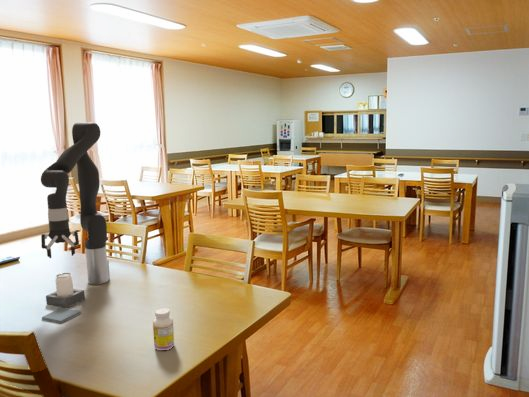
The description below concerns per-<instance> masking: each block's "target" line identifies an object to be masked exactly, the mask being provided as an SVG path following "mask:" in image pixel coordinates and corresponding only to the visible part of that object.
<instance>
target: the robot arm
mask: <svg viewBox="0 0 529 397" xmlns="http://www.w3.org/2000/svg"><path fill="white" fill-rule="evenodd" d="M71 134H72V135H71V136H72V141H73V142H72V143H73V144H72V145H71V146H69V147H68V148H66V149H65V150H64V151H63V152H62V153H61V154H60V156H59V157H58V158H57V160H56V161H55V162H54V163H52V164H51V165H50V166H48V167H47V168H45V170H44V171H43V172H42V173H41V176H40V183H41V185H42V186H44V187H45V188H48V189H49V188H53V189H54V188H55V189H56V190H55V192H52V193H50V194H47V198H46V200H47V218H48V219H47V220H48V229H49V230H48V231H49V232H48V233H44V232H43V233H41V238H40V239H41V248H42V249H45V250H46V255H47V257H48V258H49V259H52V251H51V250H52V249H51V247H52V246H53V245H54V243H56V244H60V243H67V244H69V245H70V249H71V256H74V255H75V254H76V248H75V247H76V246H79V245H80V238H79V235H78V234H79V232H78V230H76V229H75V230H72V231H71V230H70V225H69V224H70V223H69V222H70V221H69V213H68V212H69V211H68V207H67V193H68V188H69V183H70V177H69V175H68V174H69V173H71V172H72V171H73V169H74V168H75V166H76V168H77V182H78V189H79V190H78V191H79V199H80V200H79V201H80V202H79V203H80V221H79V223H80V226H81V228H82V229H83V230H84V231H85V232H87V240H86V241H84V250H85V259H86V270H87V272H86V273H87V282H88V284H89V285H96V286H97V285H103V284H105V283H106V284H107V282H108V281H109V280H111V278H110V277H111V275H110V274H111V273H110V265H109V263H110V262H109V259H108V257H107V240H108V226H107V220H106V218H105V217H104V216H103V215H101V214H99V213H98V210H97V203H96V202H97V196H98V194H99V189H100V183H101V182H100V172H99V169H98V167H97V165H96V164H95V163H94V161H93V159H92V158H91V157H90V155H89V153H88V151H89V150H90V149H91V148H92V147H93V146H94V145H95V144H96V143H97V142H98V141H99V139H100V137H101V129H100V126H99V125H98V123H96V122H91V121H90V122H88V121H87V122H85V121H84V122H75V123H74V124H73V125H72V129H71ZM71 235H72V236H73V237H74V239H75V242H74V241H73V240H71V238H70V236H71ZM48 238H50V240H49V243H48V244H46V239H48Z"/></svg>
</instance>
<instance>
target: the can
mask: <svg viewBox="0 0 529 397" xmlns="http://www.w3.org/2000/svg"><path fill="white" fill-rule="evenodd" d="M55 286H56V287H55V288H56V291H57V296H60V297H67V296H69V295H71V294H73V293H74V292H73V289H74V283H73V276H72V274H71V273H70V272H61V273H59V274H56V276H55Z"/></svg>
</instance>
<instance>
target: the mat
mask: <svg viewBox="0 0 529 397" xmlns="http://www.w3.org/2000/svg"><path fill="white" fill-rule="evenodd" d="M80 314H82V311H81V310H78V309H72V308H69V307H68V308H62V307H59V308H58V309H55V310H53V311H51V312H50V313H47V314H45V315H42V316H41V320H43V321H48V322H53V323H57V324H64V323H65V322H67V321H69V320H71V319H73V318H75V317H76V316H78V315H80Z"/></svg>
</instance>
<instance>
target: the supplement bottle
mask: <svg viewBox="0 0 529 397" xmlns="http://www.w3.org/2000/svg"><path fill="white" fill-rule="evenodd" d="M170 312H171V311H170V309H169V308H165V307H163V308H159V309H157V310H155V313H154V314H155V318H154V319H153V320H152V329H153V332H152V333H153V344H154V349H155V350H156V349H157V351H158V350H167V351H169V349H170V350H172V349H173V348H174V347H175V332H174V330H175V328H174V318H173V317H172V316H170V315H171V313H170ZM173 346H174V347H173ZM172 347H173V348H172ZM171 348H172V349H171Z"/></svg>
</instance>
